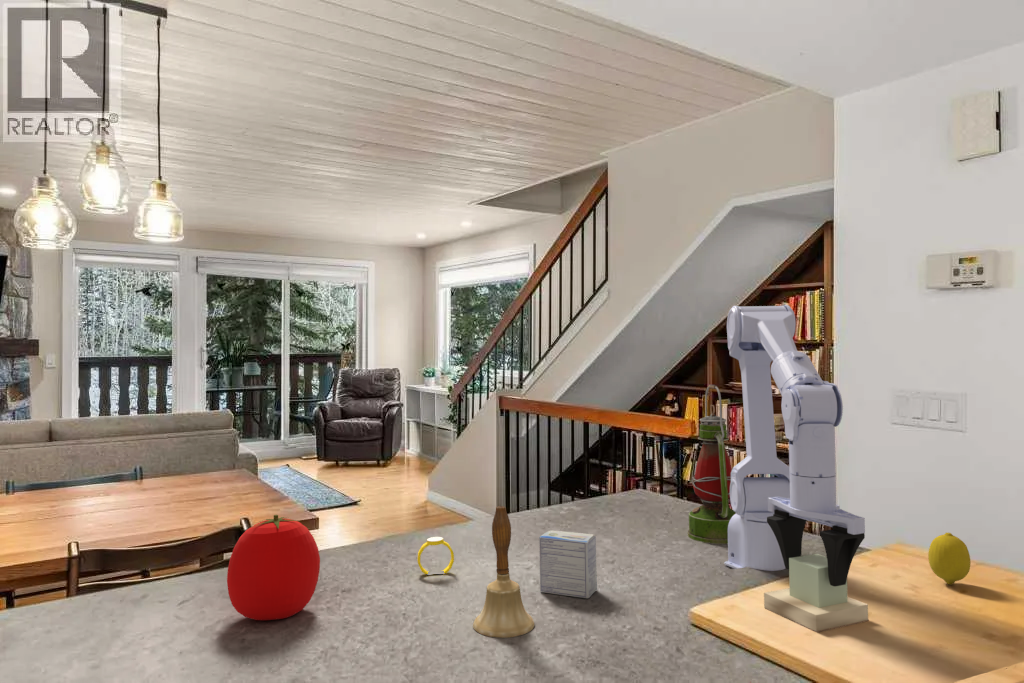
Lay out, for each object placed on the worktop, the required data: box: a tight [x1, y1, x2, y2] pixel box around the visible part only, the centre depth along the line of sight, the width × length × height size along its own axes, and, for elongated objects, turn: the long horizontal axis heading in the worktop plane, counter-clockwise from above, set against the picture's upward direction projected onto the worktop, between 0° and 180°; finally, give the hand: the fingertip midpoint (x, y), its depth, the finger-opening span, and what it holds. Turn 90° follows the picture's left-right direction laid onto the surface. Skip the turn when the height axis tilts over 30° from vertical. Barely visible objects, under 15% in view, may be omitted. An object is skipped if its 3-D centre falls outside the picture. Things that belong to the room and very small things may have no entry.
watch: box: [416, 536, 455, 575], centre depth 115 cm, size 6×3×6 cm, turn 102°
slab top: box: [763, 587, 869, 632], centre depth 92 cm, size 9×9×2 cm
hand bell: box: [472, 505, 535, 639], centre depth 93 cm, size 8×8×16 cm
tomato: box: [226, 514, 321, 621], centre depth 98 cm, size 13×11×14 cm
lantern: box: [687, 384, 736, 545], centre depth 137 cm, size 14×11×30 cm
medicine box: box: [538, 529, 598, 599], centre depth 106 cm, size 8×4×9 cm, turn 65°
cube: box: [788, 553, 848, 608], centre depth 92 cm, size 5×5×5 cm
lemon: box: [927, 532, 972, 585], centre depth 107 cm, size 6×6×8 cm
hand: (814, 576), depth 92 cm, fingers open, 7 cm apart
